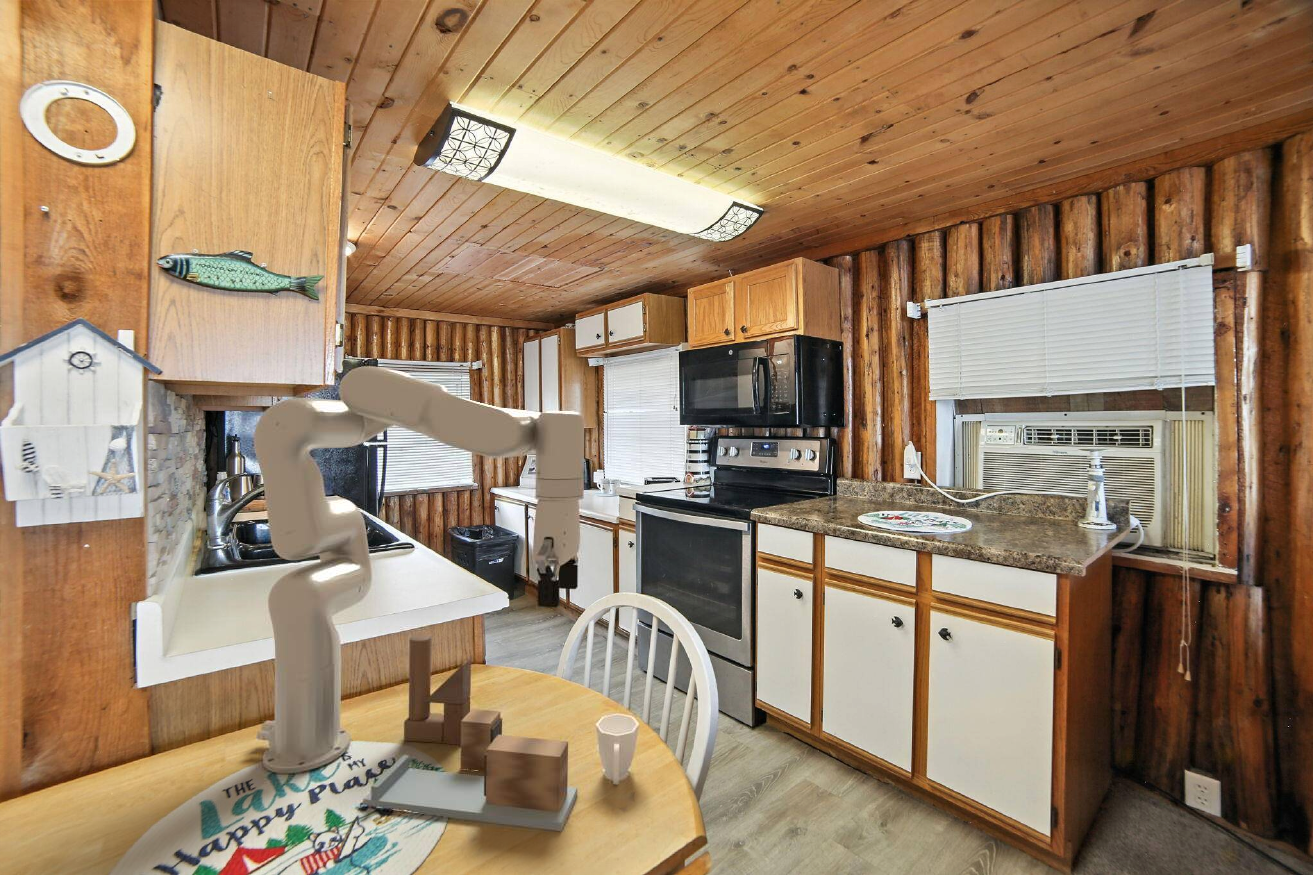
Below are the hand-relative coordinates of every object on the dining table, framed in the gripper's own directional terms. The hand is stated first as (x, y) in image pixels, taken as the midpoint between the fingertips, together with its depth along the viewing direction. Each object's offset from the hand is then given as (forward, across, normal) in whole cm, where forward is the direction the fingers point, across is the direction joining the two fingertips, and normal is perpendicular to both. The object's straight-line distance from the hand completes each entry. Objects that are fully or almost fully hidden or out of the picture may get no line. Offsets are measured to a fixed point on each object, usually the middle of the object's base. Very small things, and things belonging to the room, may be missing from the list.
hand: (558, 596), depth 90 cm
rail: (+29, +7, -11) cm, 32 cm away
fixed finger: (+28, +7, -2) cm, 29 cm away
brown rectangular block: (+29, -2, -14) cm, 32 cm away
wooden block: (+29, -8, -25) cm, 39 cm away
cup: (+30, -2, +9) cm, 31 cm away
